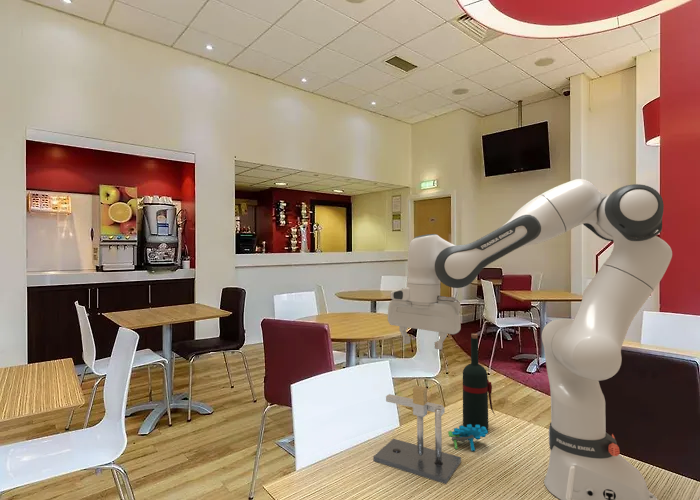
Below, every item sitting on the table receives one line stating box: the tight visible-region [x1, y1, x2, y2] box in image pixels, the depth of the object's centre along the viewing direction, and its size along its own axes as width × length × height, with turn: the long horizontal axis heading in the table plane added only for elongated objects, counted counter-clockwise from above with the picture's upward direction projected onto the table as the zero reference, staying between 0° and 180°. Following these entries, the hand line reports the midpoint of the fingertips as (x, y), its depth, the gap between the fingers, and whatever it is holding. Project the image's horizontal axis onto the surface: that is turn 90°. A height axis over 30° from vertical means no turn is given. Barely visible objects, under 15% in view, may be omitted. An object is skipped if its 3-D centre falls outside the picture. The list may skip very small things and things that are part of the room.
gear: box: [447, 424, 489, 452], centre depth 112 cm, size 11×6×10 cm
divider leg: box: [412, 385, 428, 456], centre depth 105 cm, size 3×2×18 cm
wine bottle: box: [462, 333, 496, 435], centre depth 124 cm, size 8×10×30 cm
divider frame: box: [385, 393, 446, 465], centre depth 107 cm, size 17×4×14 cm, turn 57°
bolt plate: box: [373, 438, 462, 485], centre depth 105 cm, size 20×12×1 cm, turn 57°
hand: (422, 345), depth 105 cm, fingers open, 8 cm apart
